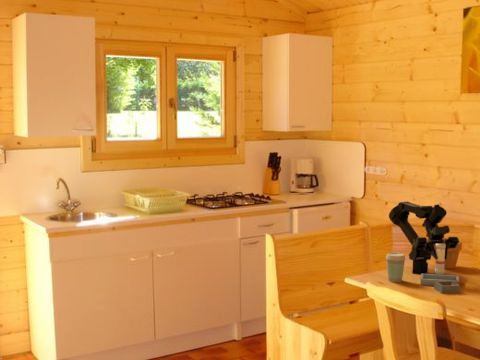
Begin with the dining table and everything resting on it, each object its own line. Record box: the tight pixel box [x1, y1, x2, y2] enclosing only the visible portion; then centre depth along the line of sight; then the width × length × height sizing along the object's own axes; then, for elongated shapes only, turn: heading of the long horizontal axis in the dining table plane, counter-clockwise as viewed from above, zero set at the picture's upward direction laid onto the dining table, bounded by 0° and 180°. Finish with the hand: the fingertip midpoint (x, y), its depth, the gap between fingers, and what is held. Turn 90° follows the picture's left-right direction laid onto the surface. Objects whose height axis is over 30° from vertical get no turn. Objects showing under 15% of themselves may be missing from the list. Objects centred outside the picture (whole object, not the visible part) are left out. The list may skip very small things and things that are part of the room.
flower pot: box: [434, 237, 463, 270], centre depth 324 cm, size 14×14×13 cm
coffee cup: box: [385, 252, 406, 283], centre depth 298 cm, size 8×8×12 cm
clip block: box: [433, 281, 461, 294], centre depth 281 cm, size 8×8×3 cm
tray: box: [419, 273, 460, 287], centre depth 294 cm, size 16×11×2 cm
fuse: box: [434, 243, 446, 275], centre depth 293 cm, size 4×4×13 cm
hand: (441, 259), depth 291 cm, fingers closed on fuse, 4 cm apart
